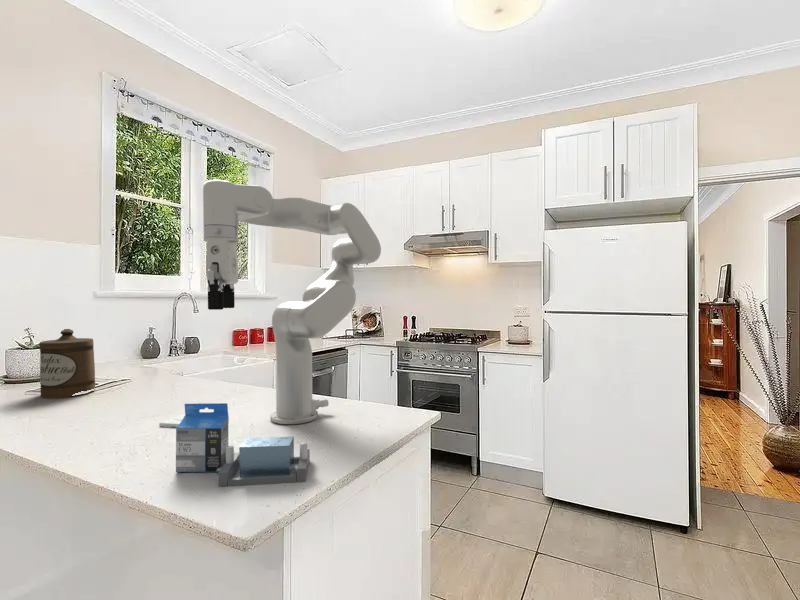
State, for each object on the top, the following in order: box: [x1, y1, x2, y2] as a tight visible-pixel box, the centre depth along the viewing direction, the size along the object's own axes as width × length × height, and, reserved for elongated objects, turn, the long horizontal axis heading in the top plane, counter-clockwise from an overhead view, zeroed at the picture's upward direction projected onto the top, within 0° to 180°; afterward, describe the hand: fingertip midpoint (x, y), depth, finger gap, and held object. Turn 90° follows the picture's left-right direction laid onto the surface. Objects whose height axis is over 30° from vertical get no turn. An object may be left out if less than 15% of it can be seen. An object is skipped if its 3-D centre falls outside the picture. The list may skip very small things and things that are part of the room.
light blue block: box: [238, 436, 295, 478], centre depth 82 cm, size 5×9×6 cm, turn 95°
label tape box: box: [175, 402, 230, 473], centre depth 84 cm, size 9×4×12 cm, turn 90°
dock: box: [217, 442, 311, 487], centre depth 82 cm, size 10×15×5 cm, turn 97°
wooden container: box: [39, 328, 96, 399], centre depth 148 cm, size 15×15×22 cm
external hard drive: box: [158, 409, 214, 428], centre depth 116 cm, size 2×8×12 cm
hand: (221, 308), depth 102 cm, fingers open, 9 cm apart
